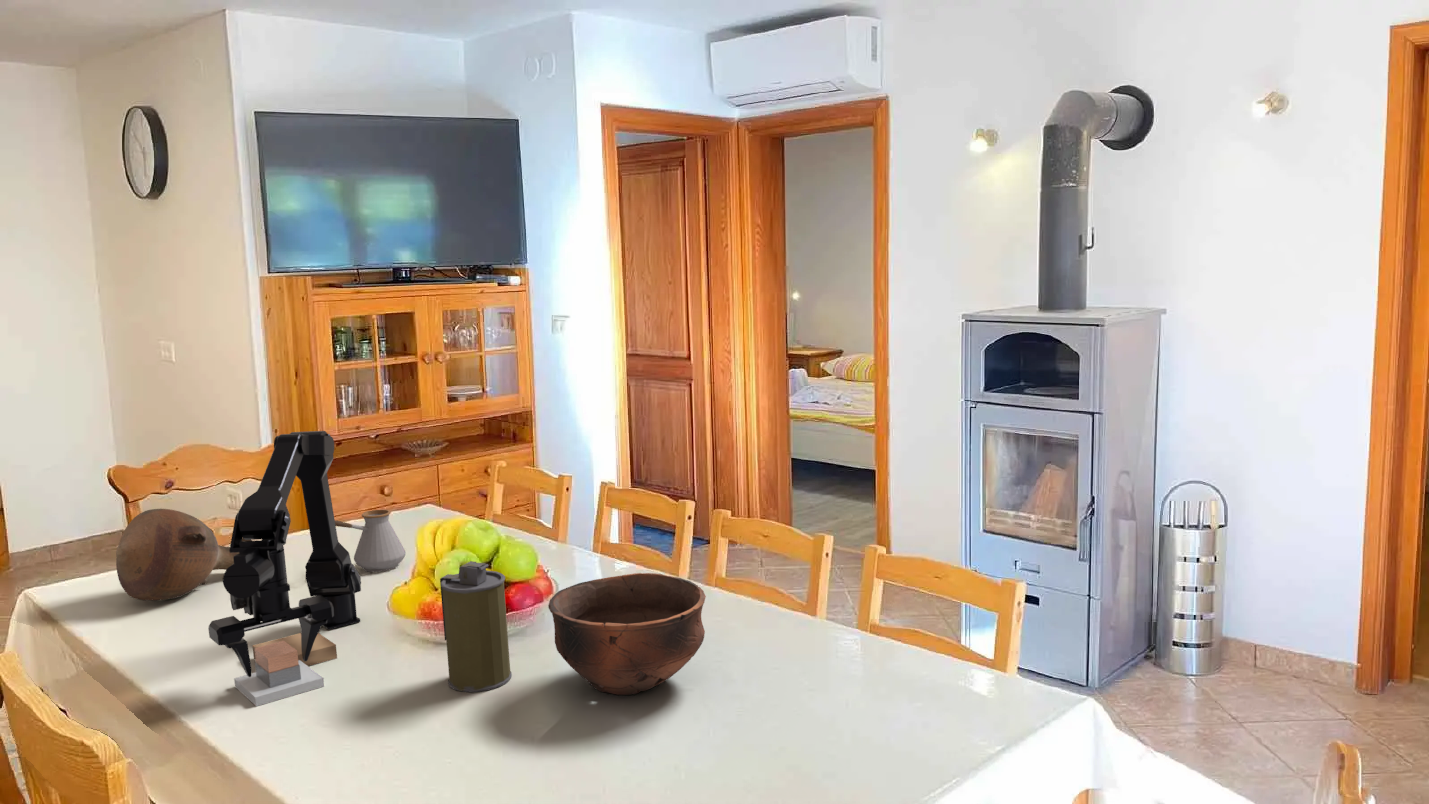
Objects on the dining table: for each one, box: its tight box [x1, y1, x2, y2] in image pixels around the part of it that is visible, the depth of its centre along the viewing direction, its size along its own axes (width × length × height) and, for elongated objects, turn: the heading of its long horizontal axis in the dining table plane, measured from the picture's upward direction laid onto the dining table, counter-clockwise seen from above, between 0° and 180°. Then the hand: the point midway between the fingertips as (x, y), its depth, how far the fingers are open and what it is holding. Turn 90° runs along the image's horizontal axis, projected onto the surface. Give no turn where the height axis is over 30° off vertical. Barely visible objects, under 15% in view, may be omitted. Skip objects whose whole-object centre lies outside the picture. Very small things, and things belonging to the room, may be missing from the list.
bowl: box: [547, 572, 707, 696], centre depth 175 cm, size 25×25×15 cm
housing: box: [254, 641, 301, 688], centre depth 180 cm, size 7×5×5 cm
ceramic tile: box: [233, 660, 325, 707], centre depth 180 cm, size 11×11×2 cm
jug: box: [115, 508, 253, 601], centre depth 234 cm, size 20×20×30 cm
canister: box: [439, 560, 513, 693], centre depth 179 cm, size 11×10×20 cm
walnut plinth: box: [251, 632, 338, 667], centre depth 193 cm, size 11×11×2 cm
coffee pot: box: [335, 509, 407, 573], centre depth 243 cm, size 21×12×15 cm, turn 146°
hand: (277, 668), depth 180 cm, fingers open, 9 cm apart
